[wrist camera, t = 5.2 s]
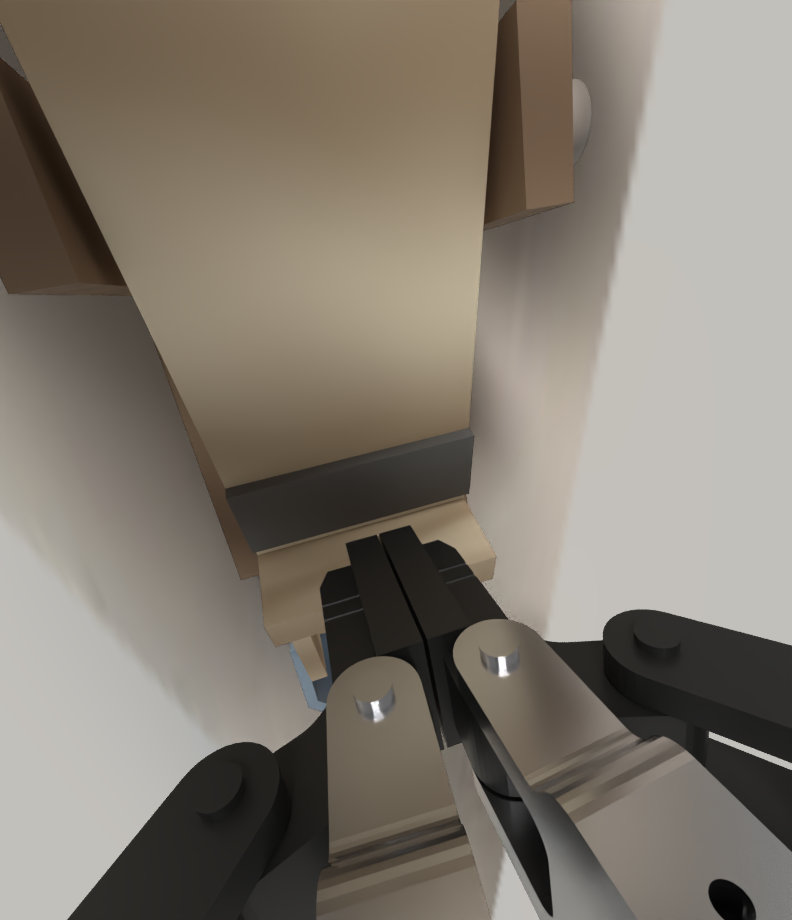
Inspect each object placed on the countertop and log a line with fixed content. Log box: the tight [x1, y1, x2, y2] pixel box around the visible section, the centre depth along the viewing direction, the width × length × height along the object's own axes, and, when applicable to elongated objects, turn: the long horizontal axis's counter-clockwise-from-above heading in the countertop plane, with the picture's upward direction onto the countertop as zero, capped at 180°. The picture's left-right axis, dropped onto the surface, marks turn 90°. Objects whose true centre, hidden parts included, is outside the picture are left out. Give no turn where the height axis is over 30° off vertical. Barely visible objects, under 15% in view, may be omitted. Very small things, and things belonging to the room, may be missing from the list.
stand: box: [0, 0, 592, 580], centre depth 11 cm, size 17×9×9 cm, turn 10°
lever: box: [0, 0, 500, 681], centre depth 9 cm, size 17×6×3 cm, turn 10°
